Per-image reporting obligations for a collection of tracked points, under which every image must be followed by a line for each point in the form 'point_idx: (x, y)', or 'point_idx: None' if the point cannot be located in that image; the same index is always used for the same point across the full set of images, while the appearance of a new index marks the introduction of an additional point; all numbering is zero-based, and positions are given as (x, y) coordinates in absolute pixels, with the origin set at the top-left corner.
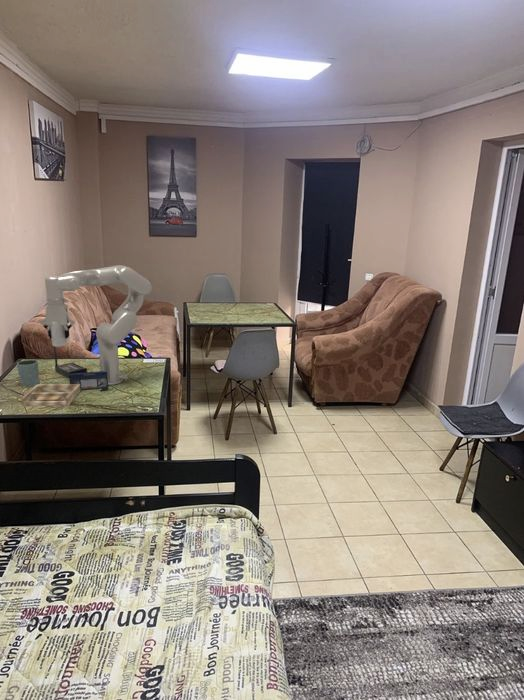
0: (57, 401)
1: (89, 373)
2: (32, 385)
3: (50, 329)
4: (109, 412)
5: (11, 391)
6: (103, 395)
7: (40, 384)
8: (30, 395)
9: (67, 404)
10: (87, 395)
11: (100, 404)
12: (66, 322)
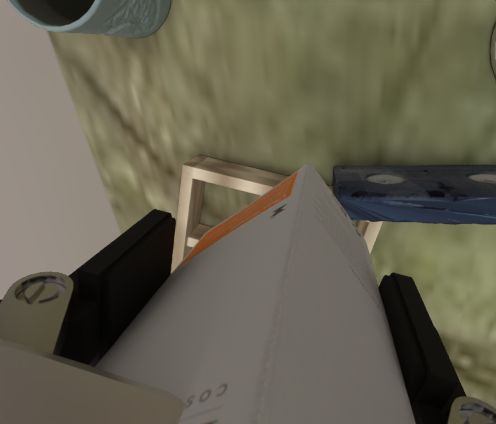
0: None
1: (460, 223)
2: (151, 33)
3: (87, 355)
4: None
5: (90, 93)
6: (475, 244)
7: (200, 169)
8: (187, 251)
9: None
10: (404, 225)
11: (442, 330)
12: None
